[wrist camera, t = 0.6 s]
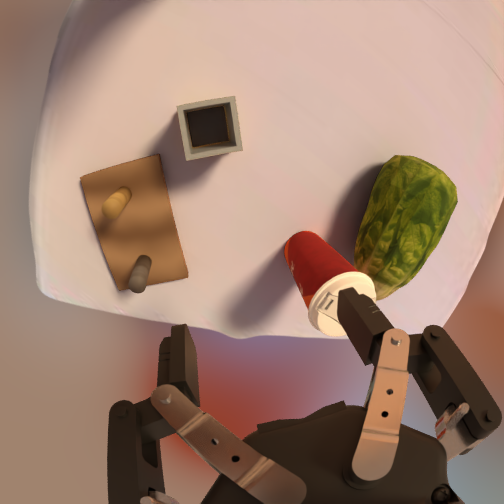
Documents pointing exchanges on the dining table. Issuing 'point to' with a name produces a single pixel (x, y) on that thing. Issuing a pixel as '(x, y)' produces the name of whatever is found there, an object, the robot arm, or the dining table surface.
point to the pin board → (135, 223)
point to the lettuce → (403, 222)
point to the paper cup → (323, 279)
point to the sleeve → (214, 148)
